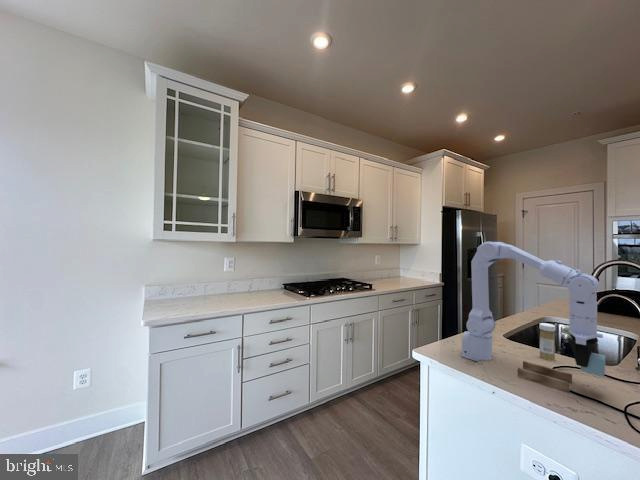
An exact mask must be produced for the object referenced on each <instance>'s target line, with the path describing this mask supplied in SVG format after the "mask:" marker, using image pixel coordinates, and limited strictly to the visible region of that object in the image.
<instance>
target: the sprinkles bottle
mask: <svg viewBox="0 0 640 480" xmlns="http://www.w3.org/2000/svg"><path fill="white" fill-rule="evenodd" d="M538 324H539V327H538V328H539V358H541V359H543V360H546V361H552V362H553V361H556V357H555V356H556V355H555V354H556V345H555V344H556V333H555V332H556V325H554V324H552V323H547V322H541V323H538Z"/></svg>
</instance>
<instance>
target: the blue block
mask: <svg viewBox="0 0 640 480" xmlns="http://www.w3.org/2000/svg"><path fill="white" fill-rule="evenodd" d="M580 371H582V372H586V373H589V374H593V375H595V376H596V375H597V376H600V377H605V373H606V355H604V354H599V353H595V352H592V353H591V355H590V359H589V363H588V366H587V367H582V366H580Z"/></svg>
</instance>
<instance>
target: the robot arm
mask: <svg viewBox="0 0 640 480" xmlns="http://www.w3.org/2000/svg"><path fill="white" fill-rule="evenodd" d="M503 259H513V260H515V261H518V262H520V263H522V264H523V265H524V264H525V265H527V266H529V267H532V268H533V269H536V270H538V271H539V274H540V276H541V277H543V278H545V279H548V280H550V281H552V282H555V283H556V284H558V285H560V286H562V287H566V288H567V289H568V291H569V296H570V297H569V318H568V319H569V320H568V323H569V324H568V325H569V326H568V327H569V328H568V329H567V331H568V333H569V334H570V337H571V338H570V337H568V339H567V341H568V342H567V343H568V344H569V346H570V348H571V349H572V352H573V356H574V361H575V364H576V366H580V367H581V366H582V367H587V366H588V363H589V359H590V355H591V353H593V352H594V350H595V348H596V347H597V344H596V342H597V341H598V338H600V339H602V338H604V334H602V333H598V301H597V299H598V297H597V291H599V288H600V283H599V282H600V281H599V280H598V279H597V278H596V277H594V276H593V275H592V274H590V273H581V272H582V270H580V269H578V268H576V269H574V268H572V267H569V266H567V265H565V264H563V261H561V260H558V259H557V260H553V259H551V260H546V261H545V260H543V259H541V258H539V257H537V256H535V255H533V254H531V253H529V252H526V251H525V250H523V249H521V248H518V247H517V246H515V245H512V244H508V243H506V242H502V241H485V242H482V243H481V244H480V245H479V246H477V247H476V252H475V254H474V256H473V258H472V260H471V262H470V263H471V265H470V267H471V296H472V297H471V298H472V307H471V308H472V309H471V310H470V312H469V313H468V319H467V321H466V326H465V327H466V329H467V331H466V330H465V331H464V332H463V334H462V338H461V355H460V356H461V357H462V358H466V359H469V360H472V361H474V362H479V361H492V359H493V331H495V328H496V323H495V322H496V321H495V320H494V317H493V313H492V311H491V310H490V295H489V294H490V293H489V292H490V291H489V267H490V266H491V265H493V264H494V263H495V262H497V261H501V260H503Z"/></svg>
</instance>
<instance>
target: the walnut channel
mask: <svg viewBox="0 0 640 480" xmlns="http://www.w3.org/2000/svg"><path fill="white" fill-rule="evenodd" d="M517 377H518V378H520V379H524V380H528V381H530V382H534V383H537V384H540V385H543V386H546V387H549V388H553V389H556V390H559V391H563V392H566V393H568V394H569V393H570V390H571V386H572V383H573V374H572V373H570V372H566V371H563V370H559V369H555V368H551V367H548V366H544V365H540V364H538V363H537V364H536V363H533V362H531V361H530V362H529V361H526V360H523V361H522V368H521V367H517Z"/></svg>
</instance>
